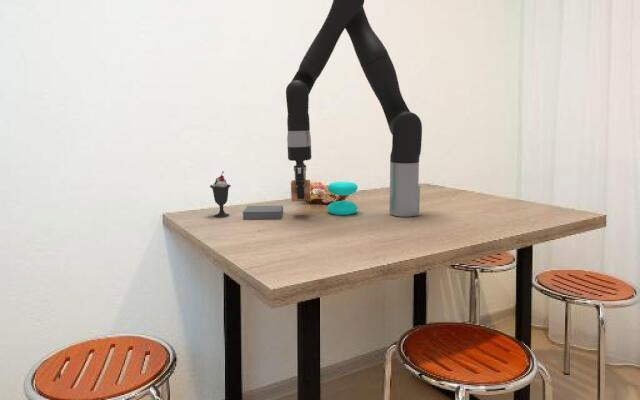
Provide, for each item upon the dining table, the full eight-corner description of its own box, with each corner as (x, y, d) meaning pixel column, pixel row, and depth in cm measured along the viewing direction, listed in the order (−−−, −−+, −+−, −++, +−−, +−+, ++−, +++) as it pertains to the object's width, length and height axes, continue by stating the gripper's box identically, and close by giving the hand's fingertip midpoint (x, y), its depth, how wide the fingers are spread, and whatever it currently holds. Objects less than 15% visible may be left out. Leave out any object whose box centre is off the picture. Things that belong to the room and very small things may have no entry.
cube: (310, 197, 160) (309, 179, 159) (310, 200, 155) (309, 182, 154) (292, 198, 160) (291, 180, 159) (291, 201, 155) (290, 182, 154)
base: (283, 214, 164) (283, 205, 163) (280, 220, 154) (280, 211, 154) (247, 214, 164) (247, 205, 163) (243, 221, 154) (242, 212, 154)
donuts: (336, 186, 155) (322, 182, 164) (336, 216, 157) (322, 211, 166) (363, 184, 159) (348, 180, 168) (362, 213, 161) (348, 208, 170)
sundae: (227, 218, 157) (225, 171, 154) (208, 217, 158) (205, 171, 155) (235, 213, 163) (233, 169, 160) (216, 213, 164) (214, 169, 162)
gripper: (310, 146, 147) (312, 200, 150) (311, 143, 161) (312, 192, 164) (286, 147, 147) (288, 201, 150) (288, 143, 161) (290, 193, 164)
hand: (301, 196), depth 157 cm, fingers closed on cube, 6 cm apart
